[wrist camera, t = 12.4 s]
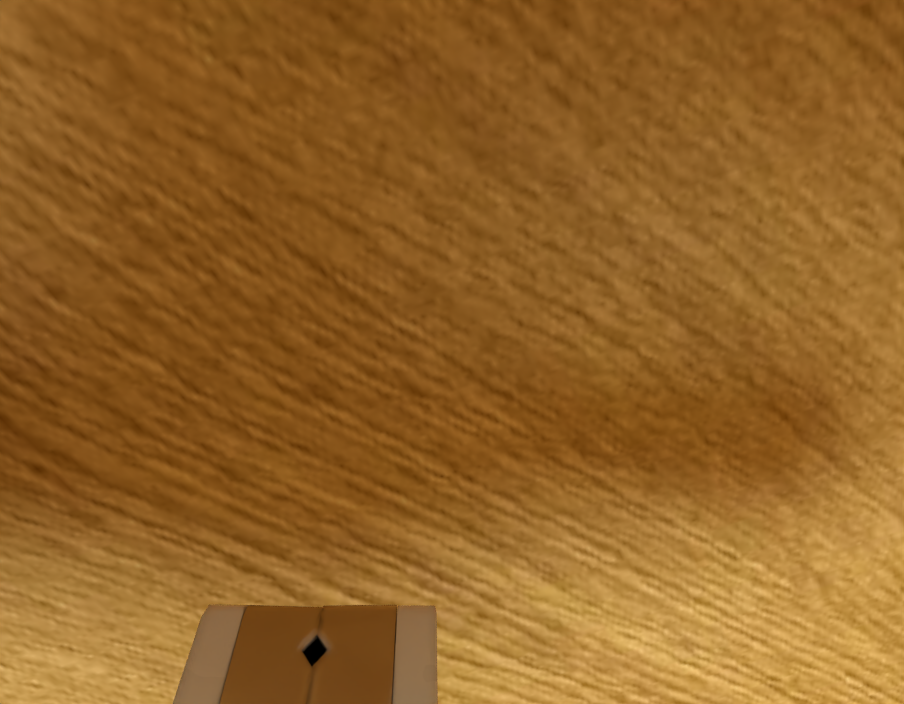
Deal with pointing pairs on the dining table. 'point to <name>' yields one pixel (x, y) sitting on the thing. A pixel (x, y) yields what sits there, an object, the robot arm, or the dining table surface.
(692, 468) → the dining table surface
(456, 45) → the dining table surface
